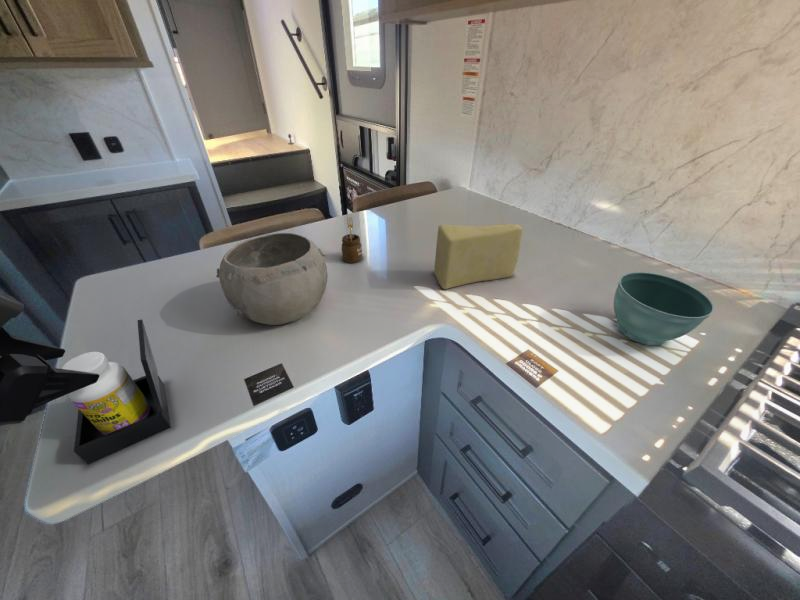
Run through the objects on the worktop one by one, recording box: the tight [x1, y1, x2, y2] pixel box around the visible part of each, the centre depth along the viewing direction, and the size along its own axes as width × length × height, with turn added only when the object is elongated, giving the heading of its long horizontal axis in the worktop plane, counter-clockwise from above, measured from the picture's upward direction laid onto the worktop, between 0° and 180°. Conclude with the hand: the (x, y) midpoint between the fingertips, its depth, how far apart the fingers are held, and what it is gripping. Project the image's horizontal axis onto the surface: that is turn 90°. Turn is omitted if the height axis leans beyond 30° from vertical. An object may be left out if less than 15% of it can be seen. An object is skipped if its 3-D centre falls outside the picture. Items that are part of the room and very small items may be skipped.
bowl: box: [215, 232, 329, 326], centre depth 72 cm, size 23×23×15 cm
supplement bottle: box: [60, 351, 151, 435], centre depth 47 cm, size 7×7×13 cm
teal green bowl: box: [613, 271, 715, 346], centre depth 68 cm, size 16×16×11 cm
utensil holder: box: [341, 216, 363, 264], centre depth 93 cm, size 6×6×12 cm
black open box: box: [73, 375, 171, 466], centre depth 50 cm, size 10×10×4 cm
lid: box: [137, 319, 163, 413], centre depth 48 cm, size 11×10×1 cm
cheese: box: [433, 223, 523, 290], centre depth 84 cm, size 22×10×15 cm, turn 100°
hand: (80, 365), depth 43 cm, fingers open, 9 cm apart
